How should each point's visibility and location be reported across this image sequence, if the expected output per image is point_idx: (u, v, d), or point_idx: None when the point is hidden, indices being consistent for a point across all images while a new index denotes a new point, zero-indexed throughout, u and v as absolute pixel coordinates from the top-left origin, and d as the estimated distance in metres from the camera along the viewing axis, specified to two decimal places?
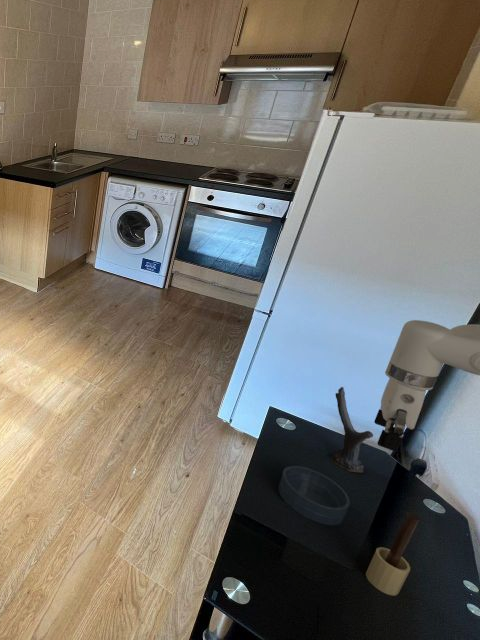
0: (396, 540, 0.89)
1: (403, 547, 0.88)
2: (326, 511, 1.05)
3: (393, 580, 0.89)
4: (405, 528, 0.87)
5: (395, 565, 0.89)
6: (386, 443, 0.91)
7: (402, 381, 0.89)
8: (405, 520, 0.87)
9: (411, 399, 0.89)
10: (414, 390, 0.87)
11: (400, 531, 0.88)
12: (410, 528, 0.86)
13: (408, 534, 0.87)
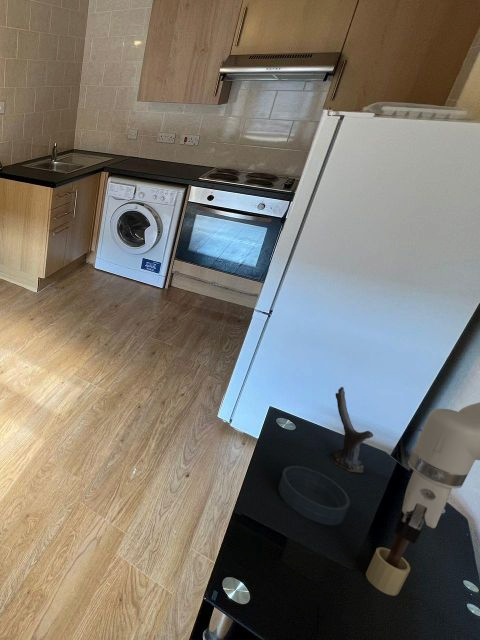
0: (396, 540, 0.89)
1: (403, 547, 0.88)
2: (326, 511, 1.05)
3: (393, 580, 0.89)
4: None
5: (395, 565, 0.89)
6: (403, 533, 0.86)
7: (423, 474, 0.81)
8: None
9: (433, 495, 0.81)
10: (436, 486, 0.80)
11: None
12: None
13: None
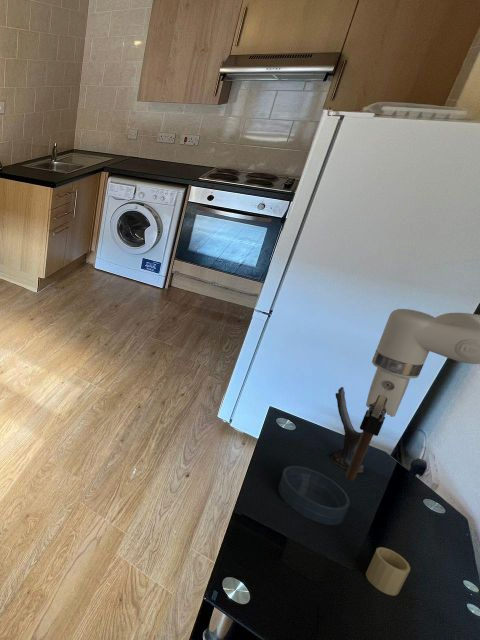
0: (362, 436, 0.97)
1: (368, 441, 0.96)
2: (326, 511, 1.05)
3: (393, 580, 0.89)
4: None
5: (361, 460, 0.98)
6: (367, 427, 0.95)
7: (384, 368, 0.90)
8: None
9: (393, 386, 0.89)
10: (395, 377, 0.88)
11: None
12: None
13: None
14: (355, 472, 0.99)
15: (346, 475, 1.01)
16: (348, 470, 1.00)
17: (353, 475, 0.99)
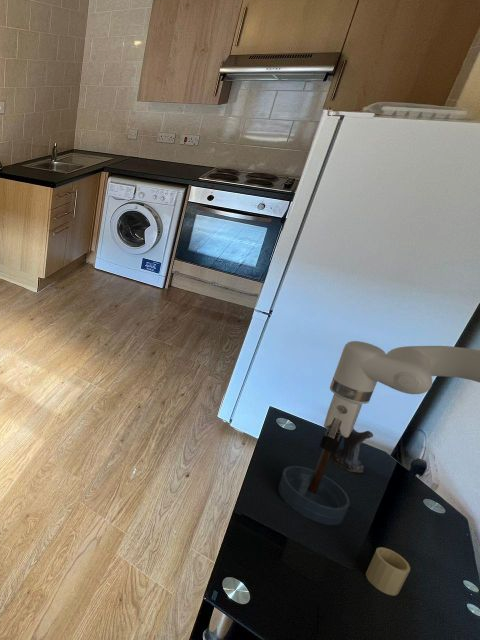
0: (322, 453, 1.08)
1: (327, 458, 1.07)
2: (326, 511, 1.05)
3: (393, 580, 0.89)
4: None
5: (321, 474, 1.09)
6: (325, 445, 1.06)
7: (339, 394, 1.01)
8: None
9: (346, 410, 1.00)
10: (347, 402, 0.99)
11: None
12: None
13: None
14: (316, 485, 1.10)
15: (309, 488, 1.11)
16: (311, 484, 1.11)
17: (315, 488, 1.10)
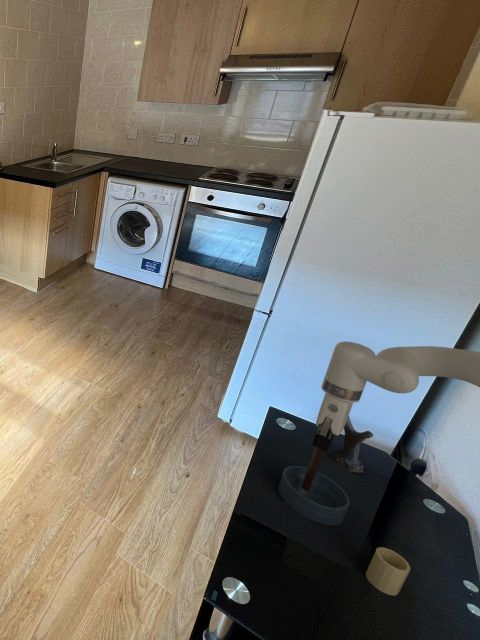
0: (314, 451, 1.10)
1: (319, 456, 1.09)
2: (326, 511, 1.05)
3: (393, 580, 0.89)
4: None
5: (314, 472, 1.11)
6: (318, 443, 1.08)
7: (330, 393, 1.03)
8: None
9: (337, 409, 1.02)
10: (338, 401, 1.01)
11: None
12: None
13: None
14: (309, 483, 1.12)
15: (302, 485, 1.14)
16: (304, 481, 1.13)
17: (308, 486, 1.13)
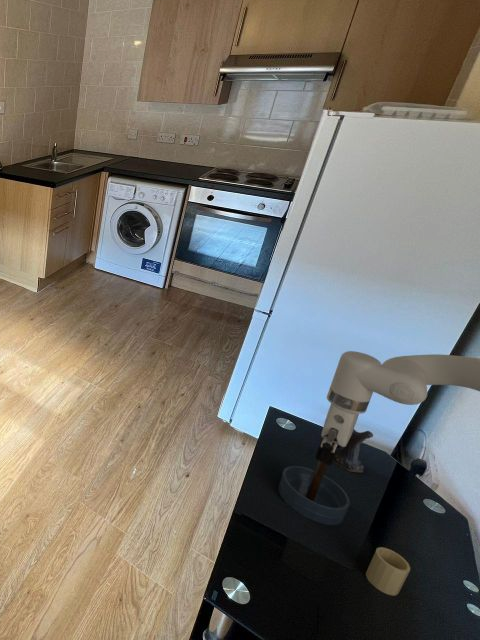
0: (318, 464, 1.09)
1: (323, 469, 1.08)
2: (326, 511, 1.05)
3: (393, 580, 0.89)
4: None
5: (318, 485, 1.10)
6: (321, 457, 1.04)
7: (336, 403, 1.01)
8: None
9: (343, 420, 1.01)
10: (344, 412, 1.00)
11: None
12: None
13: None
14: (313, 496, 1.11)
15: None
16: (307, 494, 1.12)
17: (311, 498, 1.11)
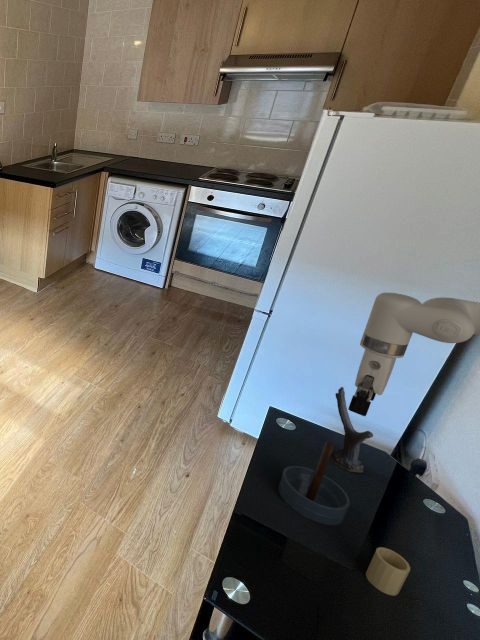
0: (318, 464, 1.09)
1: (323, 469, 1.08)
2: (326, 511, 1.05)
3: (393, 580, 0.89)
4: (324, 453, 1.07)
5: (318, 485, 1.10)
6: (355, 407, 0.97)
7: (371, 349, 0.95)
8: (324, 446, 1.07)
9: (379, 366, 0.94)
10: (381, 357, 0.93)
11: (321, 456, 1.08)
12: (328, 452, 1.06)
13: (326, 457, 1.07)
14: (313, 496, 1.11)
15: None
16: (307, 494, 1.12)
17: (311, 498, 1.11)
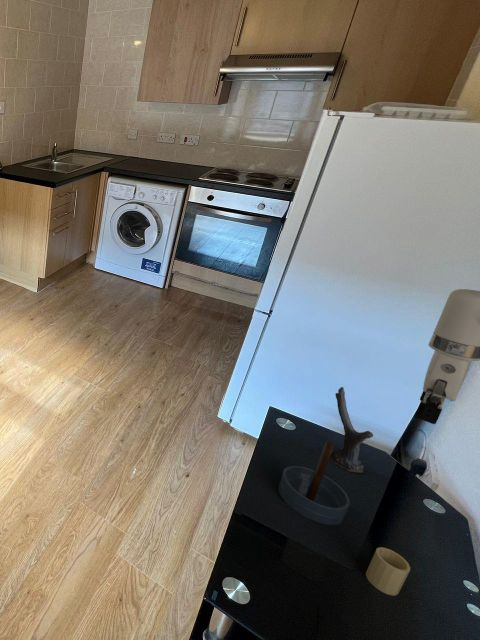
0: (318, 464, 1.09)
1: (323, 469, 1.08)
2: (326, 511, 1.05)
3: (393, 580, 0.89)
4: (324, 453, 1.07)
5: (318, 485, 1.10)
6: (423, 414, 0.89)
7: (444, 351, 0.86)
8: (324, 446, 1.07)
9: (453, 369, 0.86)
10: (456, 359, 0.85)
11: (321, 456, 1.08)
12: (328, 452, 1.06)
13: (326, 457, 1.07)
14: (313, 496, 1.11)
15: None
16: (307, 494, 1.12)
17: (311, 498, 1.11)
